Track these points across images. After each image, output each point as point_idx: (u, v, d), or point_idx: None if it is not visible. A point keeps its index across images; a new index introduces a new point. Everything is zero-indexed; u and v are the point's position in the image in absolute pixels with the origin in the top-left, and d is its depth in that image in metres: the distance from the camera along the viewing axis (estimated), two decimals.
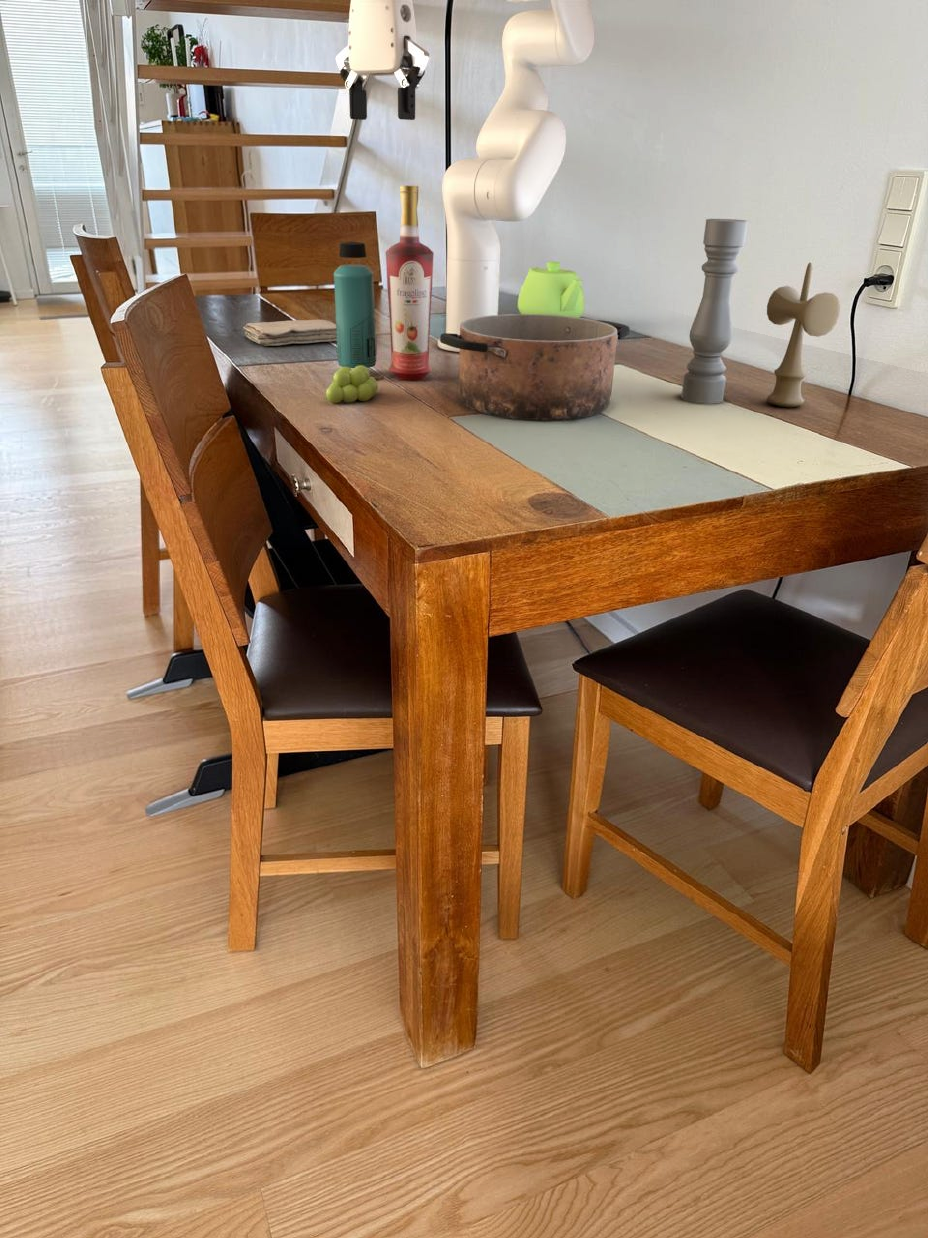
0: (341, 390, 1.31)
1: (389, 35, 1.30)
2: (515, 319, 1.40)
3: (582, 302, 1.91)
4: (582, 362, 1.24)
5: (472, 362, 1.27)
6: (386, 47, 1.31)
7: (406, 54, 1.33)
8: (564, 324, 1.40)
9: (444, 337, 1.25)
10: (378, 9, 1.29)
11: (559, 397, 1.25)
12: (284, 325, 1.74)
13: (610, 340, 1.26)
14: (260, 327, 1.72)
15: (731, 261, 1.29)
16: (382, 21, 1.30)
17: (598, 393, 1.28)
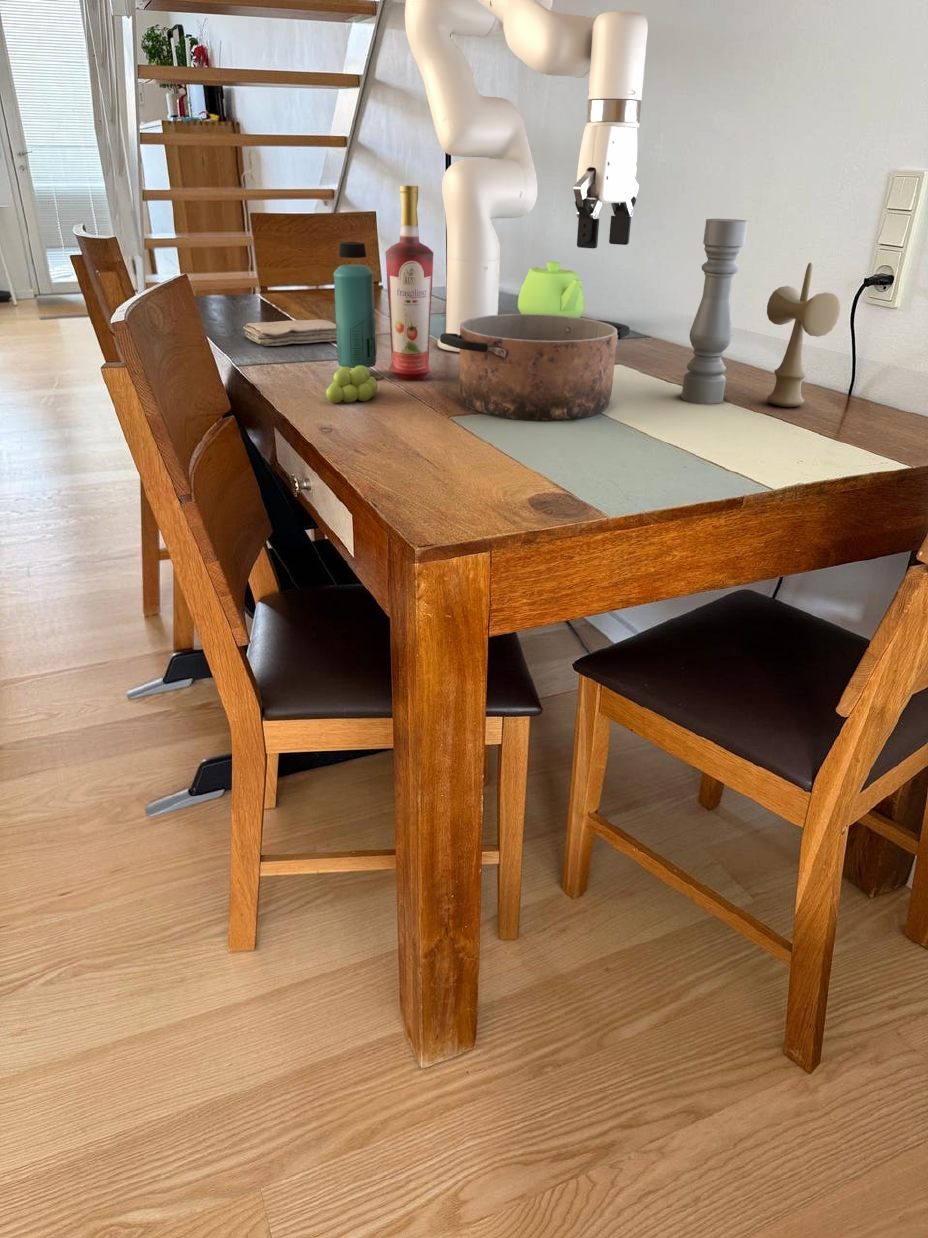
0: (341, 390, 1.31)
1: (634, 168, 1.35)
2: (515, 319, 1.40)
3: (582, 302, 1.91)
4: (582, 362, 1.24)
5: (472, 362, 1.27)
6: (631, 179, 1.35)
7: None
8: (564, 324, 1.40)
9: (444, 337, 1.25)
10: (632, 144, 1.32)
11: (559, 397, 1.25)
12: (284, 325, 1.74)
13: (611, 340, 1.26)
14: (260, 327, 1.72)
15: (731, 261, 1.29)
16: (633, 155, 1.33)
17: (598, 393, 1.28)
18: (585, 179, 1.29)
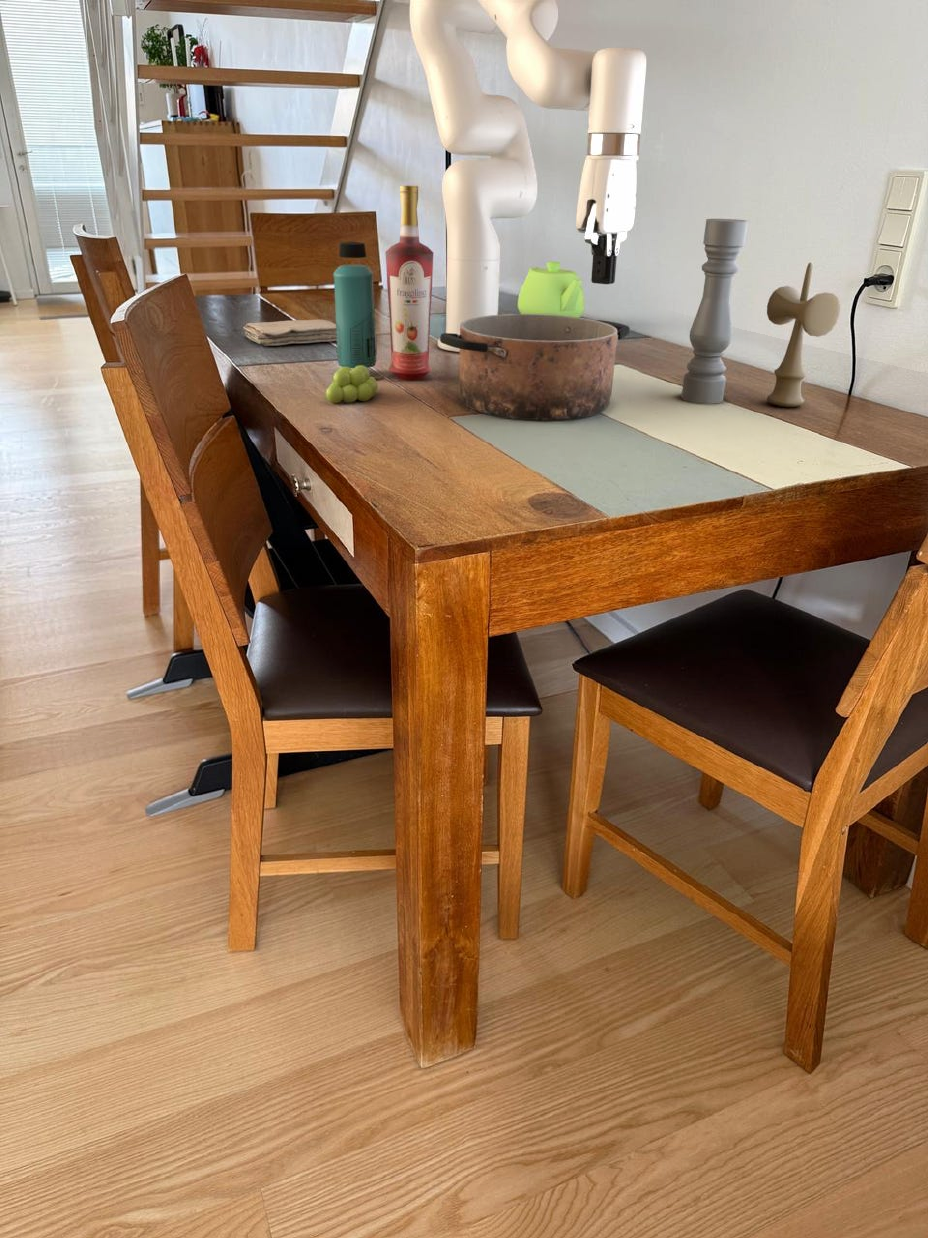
0: (341, 390, 1.31)
1: (634, 199, 1.37)
2: (515, 319, 1.40)
3: (582, 302, 1.91)
4: (582, 362, 1.24)
5: (472, 362, 1.27)
6: (631, 210, 1.37)
7: None
8: (564, 324, 1.40)
9: (444, 337, 1.25)
10: (631, 176, 1.34)
11: (559, 397, 1.25)
12: (284, 325, 1.74)
13: (611, 340, 1.26)
14: (260, 327, 1.72)
15: (731, 261, 1.29)
16: (632, 187, 1.35)
17: (598, 393, 1.28)
18: (592, 227, 1.33)
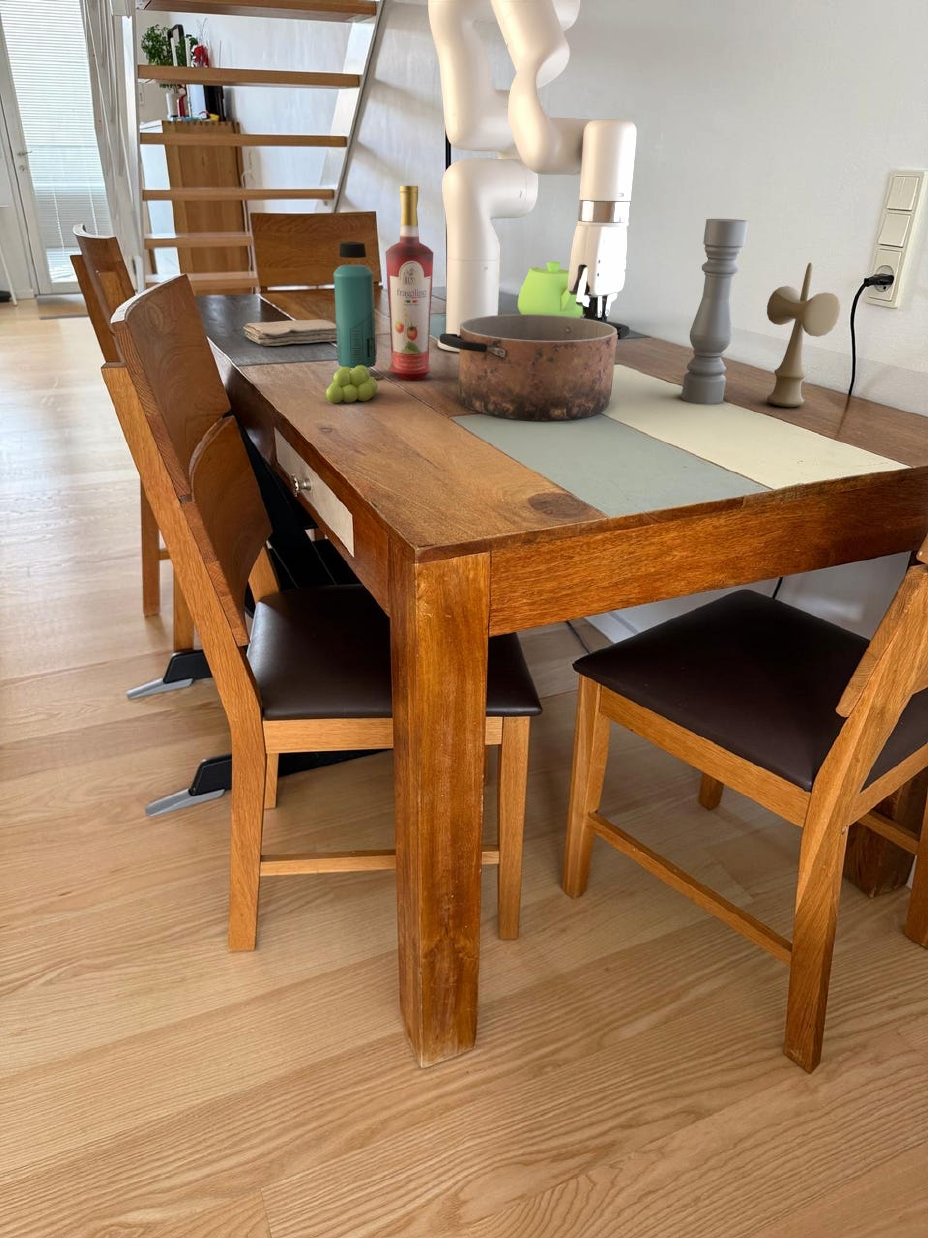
0: (341, 390, 1.31)
1: (624, 262, 1.40)
2: (515, 319, 1.40)
3: None
4: (581, 362, 1.23)
5: (471, 362, 1.27)
6: (621, 272, 1.40)
7: None
8: (564, 325, 1.40)
9: (443, 337, 1.25)
10: (621, 240, 1.37)
11: (558, 397, 1.24)
12: (284, 325, 1.74)
13: (610, 340, 1.26)
14: (260, 327, 1.72)
15: (731, 261, 1.29)
16: (622, 251, 1.38)
17: (598, 393, 1.27)
18: (583, 291, 1.36)
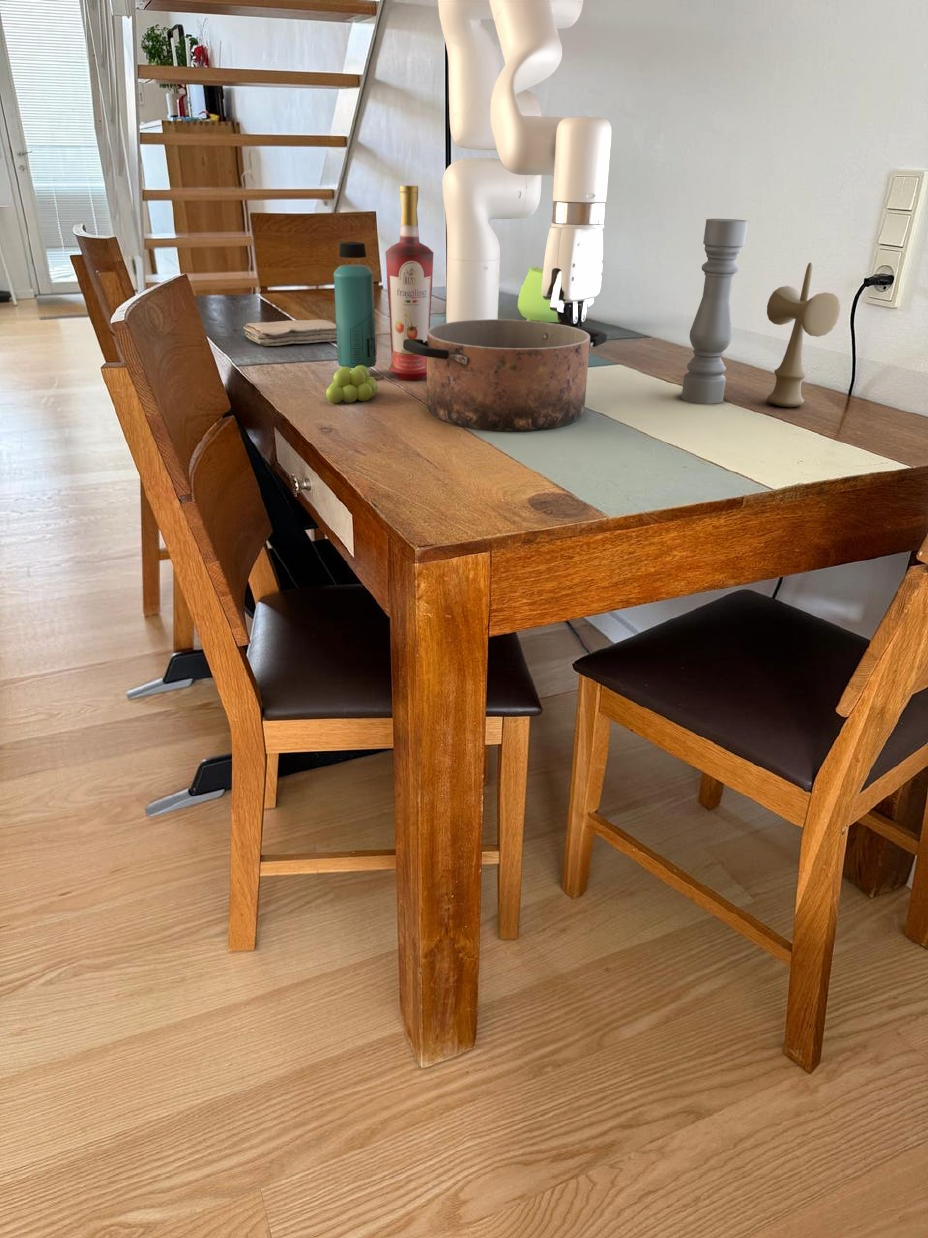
0: (341, 390, 1.31)
1: (600, 266, 1.34)
2: (491, 324, 1.35)
3: None
4: (547, 371, 1.18)
5: (436, 369, 1.23)
6: (597, 277, 1.35)
7: None
8: (541, 331, 1.35)
9: (406, 343, 1.21)
10: (597, 243, 1.32)
11: (523, 407, 1.19)
12: (284, 325, 1.74)
13: (580, 348, 1.21)
14: (260, 327, 1.72)
15: (731, 261, 1.29)
16: (598, 254, 1.33)
17: (566, 403, 1.22)
18: (557, 296, 1.31)
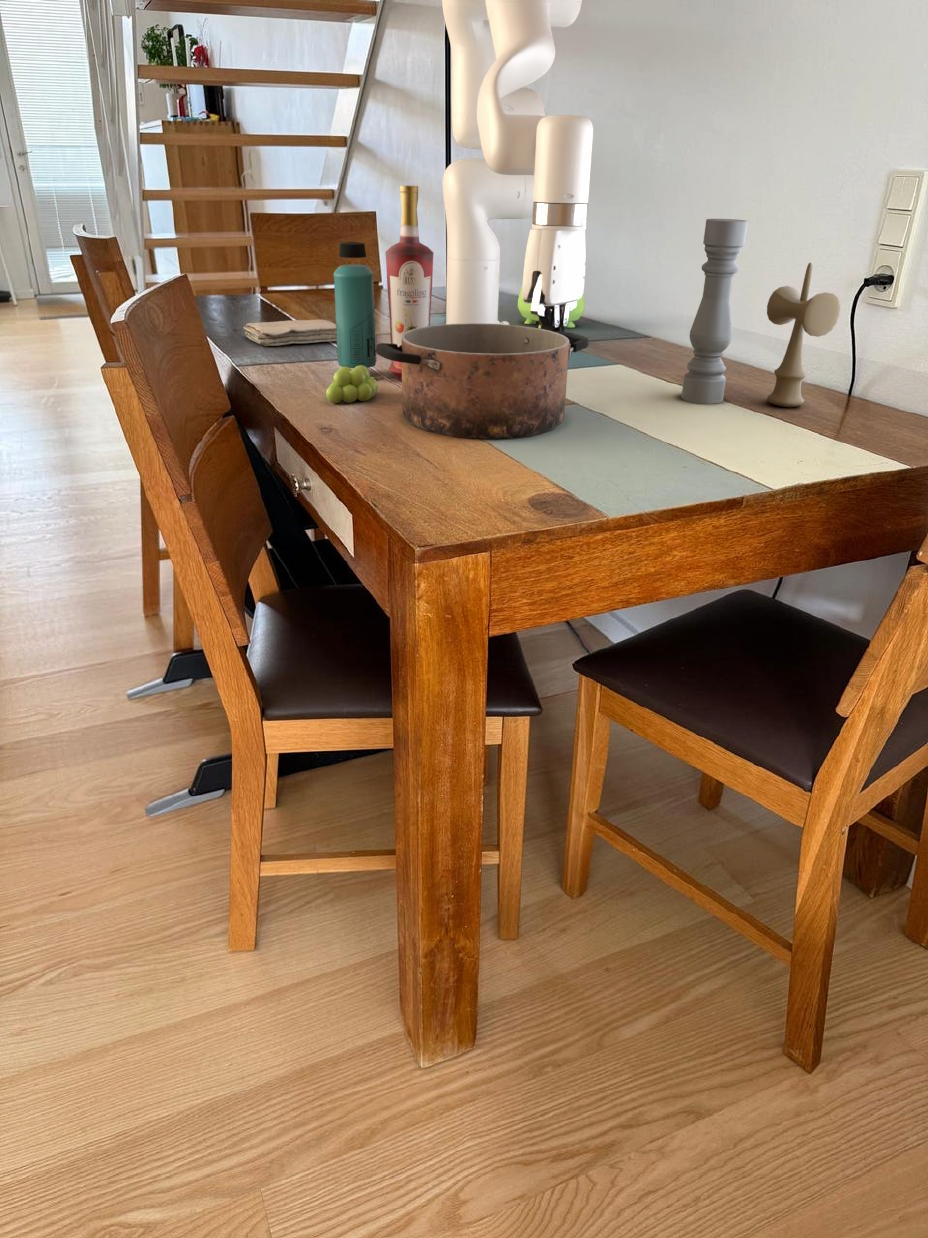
0: (341, 390, 1.31)
1: (583, 268, 1.31)
2: (471, 329, 1.32)
3: (582, 302, 1.91)
4: (522, 377, 1.15)
5: (409, 375, 1.19)
6: (580, 280, 1.31)
7: None
8: (522, 335, 1.31)
9: (378, 347, 1.18)
10: (579, 245, 1.28)
11: (497, 414, 1.16)
12: (284, 325, 1.74)
13: (557, 353, 1.17)
14: (260, 327, 1.72)
15: (731, 261, 1.29)
16: (581, 256, 1.29)
17: (543, 410, 1.18)
18: (538, 299, 1.27)
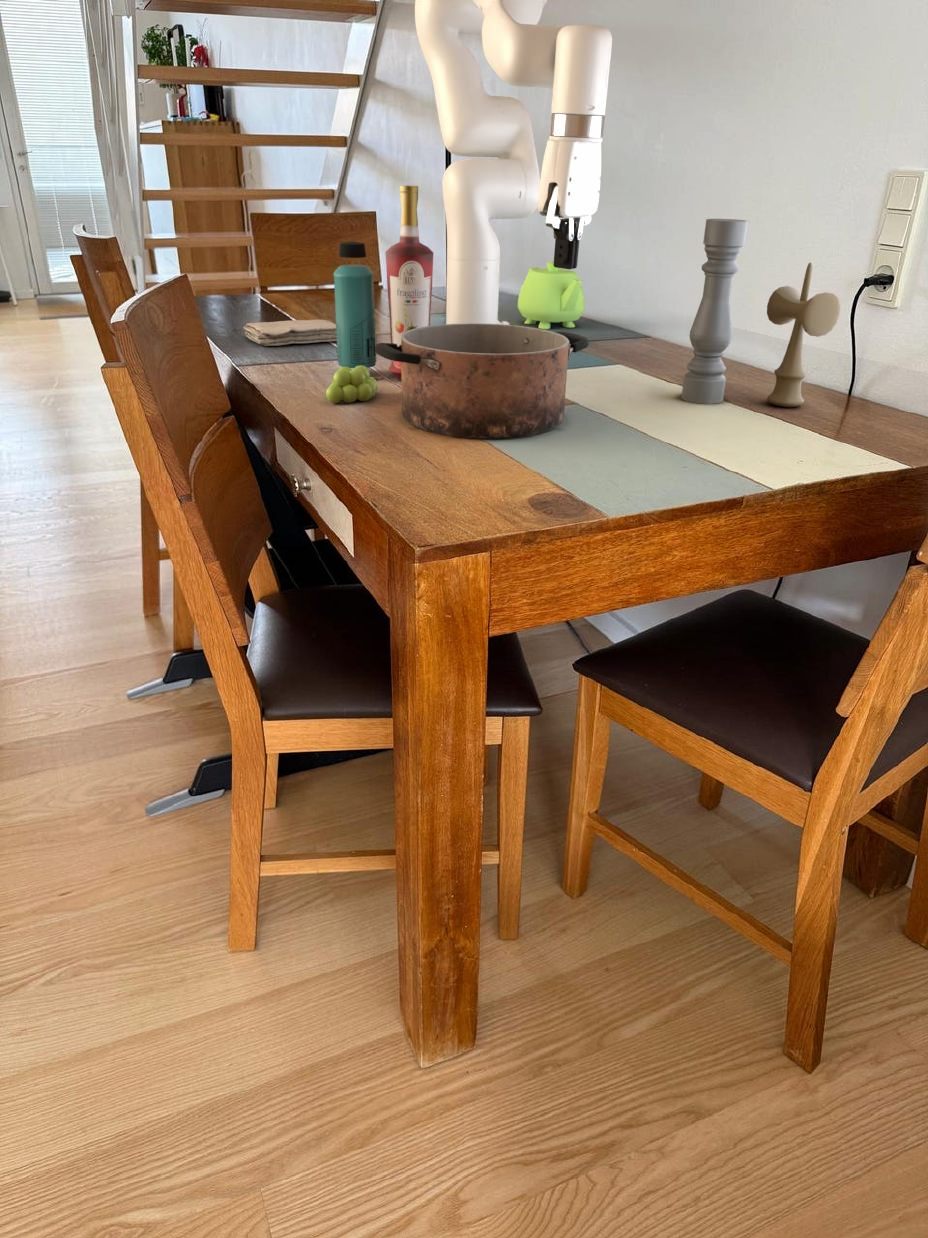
0: (341, 390, 1.31)
1: (598, 182, 1.34)
2: (471, 329, 1.32)
3: (582, 302, 1.91)
4: (521, 377, 1.15)
5: (409, 374, 1.19)
6: (595, 193, 1.34)
7: None
8: (522, 335, 1.31)
9: (378, 347, 1.18)
10: (595, 159, 1.31)
11: (497, 414, 1.16)
12: (284, 325, 1.74)
13: (557, 353, 1.17)
14: (260, 327, 1.72)
15: (731, 261, 1.29)
16: (596, 170, 1.32)
17: (543, 410, 1.18)
18: (553, 211, 1.30)
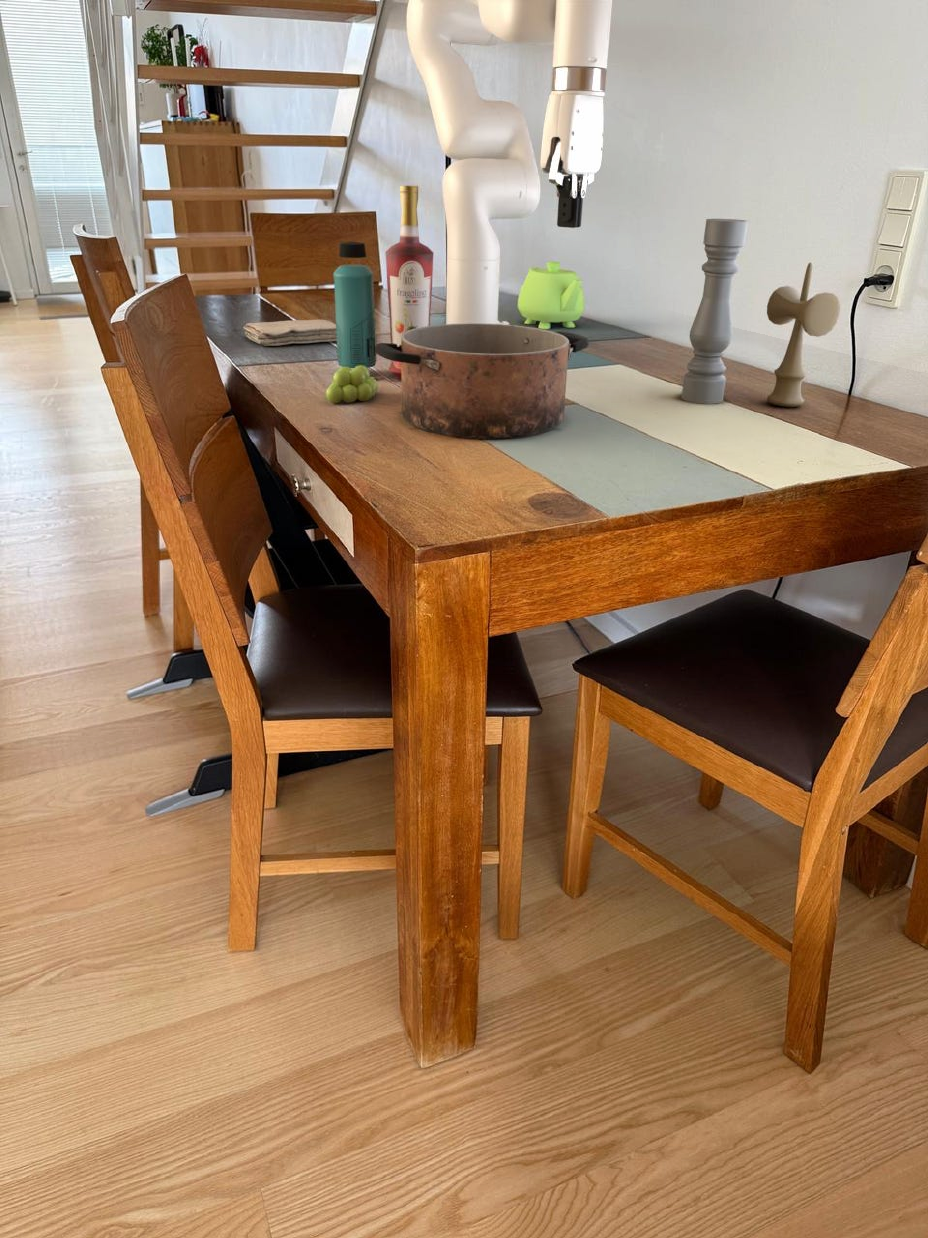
0: (341, 390, 1.31)
1: (600, 139, 1.33)
2: (471, 329, 1.32)
3: (582, 302, 1.91)
4: (521, 377, 1.15)
5: (409, 374, 1.19)
6: (598, 150, 1.33)
7: None
8: (522, 335, 1.31)
9: (378, 347, 1.18)
10: (598, 114, 1.30)
11: (497, 414, 1.16)
12: (284, 325, 1.74)
13: (557, 353, 1.17)
14: (260, 327, 1.72)
15: (731, 261, 1.29)
16: (599, 126, 1.31)
17: (543, 410, 1.18)
18: (556, 166, 1.29)
